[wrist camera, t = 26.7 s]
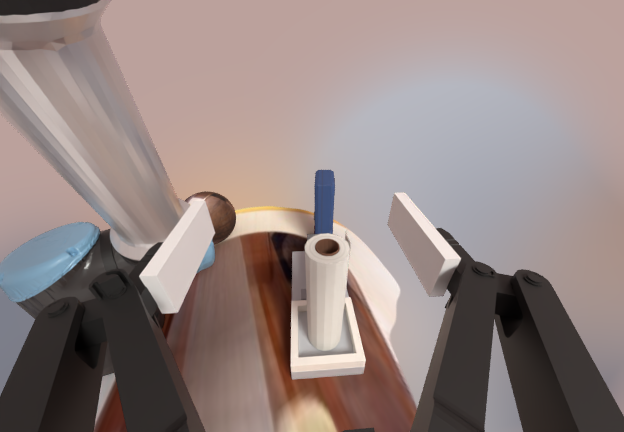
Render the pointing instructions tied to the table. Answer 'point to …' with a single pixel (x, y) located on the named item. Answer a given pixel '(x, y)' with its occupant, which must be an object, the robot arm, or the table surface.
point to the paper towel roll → (326, 288)
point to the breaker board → (303, 353)
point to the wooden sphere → (217, 213)
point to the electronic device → (324, 201)
